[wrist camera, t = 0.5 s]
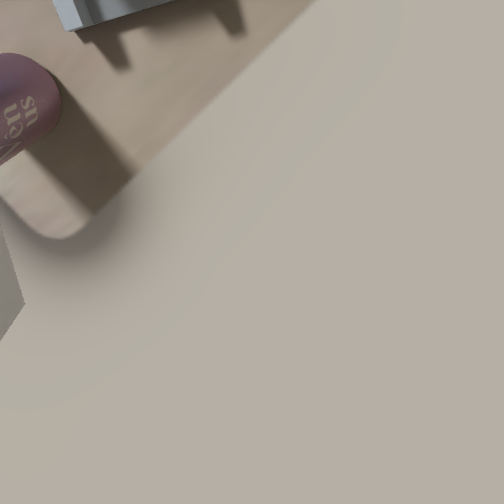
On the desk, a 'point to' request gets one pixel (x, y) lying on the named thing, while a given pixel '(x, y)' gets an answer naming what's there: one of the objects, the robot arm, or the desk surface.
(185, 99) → the desk surface
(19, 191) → the desk surface
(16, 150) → the beverage can
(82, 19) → the chute
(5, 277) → the robot arm
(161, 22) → the desk surface
